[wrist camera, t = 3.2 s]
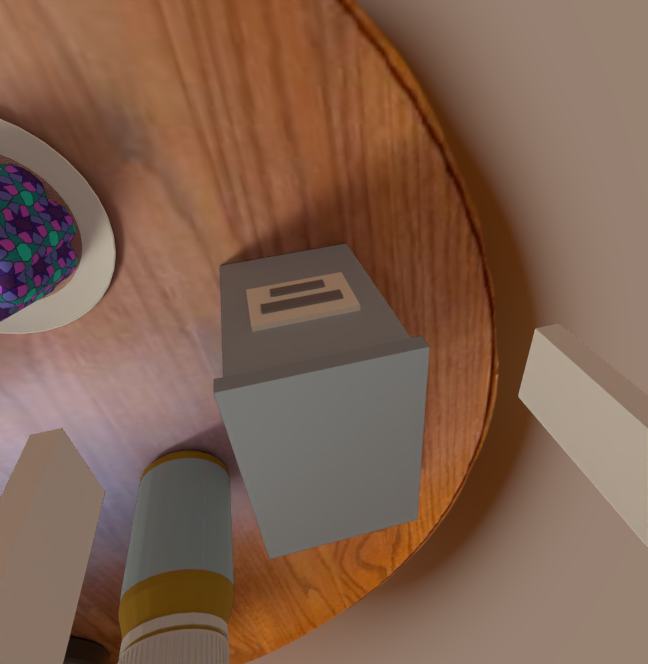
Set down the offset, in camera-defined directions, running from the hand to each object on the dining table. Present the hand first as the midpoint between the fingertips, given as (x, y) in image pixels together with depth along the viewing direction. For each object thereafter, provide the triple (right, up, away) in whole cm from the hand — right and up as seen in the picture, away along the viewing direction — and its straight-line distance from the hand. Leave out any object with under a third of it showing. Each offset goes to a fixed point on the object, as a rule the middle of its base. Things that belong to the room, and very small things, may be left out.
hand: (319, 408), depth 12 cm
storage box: (-2, +2, +17) cm, 18 cm away
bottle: (-11, -10, +23) cm, 28 cm away
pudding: (-17, +8, +10) cm, 21 cm away
